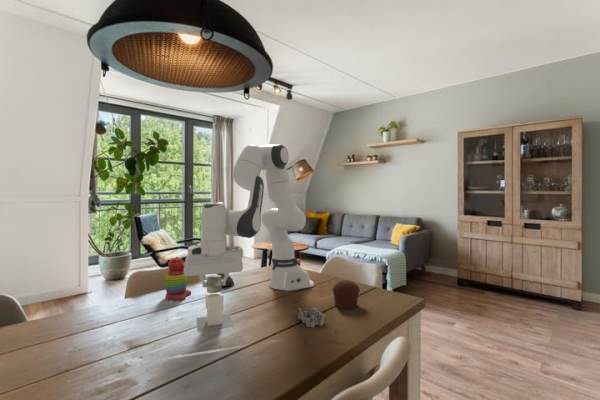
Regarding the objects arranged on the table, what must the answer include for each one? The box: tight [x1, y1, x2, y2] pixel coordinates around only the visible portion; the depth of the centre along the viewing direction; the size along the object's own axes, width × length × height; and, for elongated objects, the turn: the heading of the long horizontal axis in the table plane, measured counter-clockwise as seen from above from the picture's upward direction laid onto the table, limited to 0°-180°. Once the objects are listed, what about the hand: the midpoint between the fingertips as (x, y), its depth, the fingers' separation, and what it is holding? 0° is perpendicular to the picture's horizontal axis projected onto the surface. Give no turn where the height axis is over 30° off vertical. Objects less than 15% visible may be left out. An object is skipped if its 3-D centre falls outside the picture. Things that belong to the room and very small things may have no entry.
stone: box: [216, 273, 235, 288], centre depth 159 cm, size 10×8×10 cm
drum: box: [206, 274, 222, 293], centre depth 113 cm, size 5×5×5 cm
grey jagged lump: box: [297, 307, 326, 328], centre depth 116 cm, size 11×8×4 cm
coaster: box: [196, 313, 234, 333], centre depth 113 cm, size 12×12×1 cm
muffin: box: [331, 279, 361, 310], centre depth 131 cm, size 12×11×10 cm
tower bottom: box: [206, 309, 223, 326], centre depth 113 cm, size 5×5×5 cm
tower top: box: [205, 291, 224, 312], centre depth 113 cm, size 5×5×5 cm
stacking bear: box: [164, 256, 192, 302], centre depth 142 cm, size 11×10×18 cm
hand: (214, 286), depth 113 cm, fingers closed on drum, 5 cm apart
